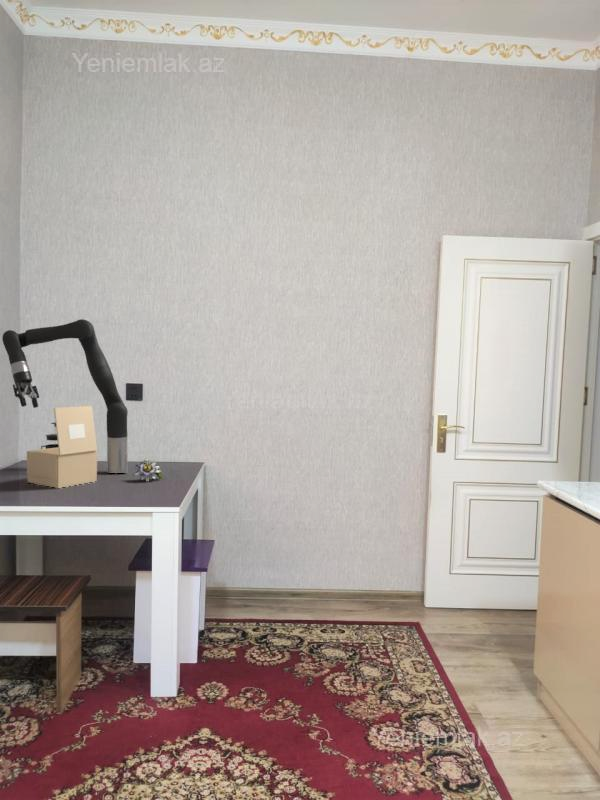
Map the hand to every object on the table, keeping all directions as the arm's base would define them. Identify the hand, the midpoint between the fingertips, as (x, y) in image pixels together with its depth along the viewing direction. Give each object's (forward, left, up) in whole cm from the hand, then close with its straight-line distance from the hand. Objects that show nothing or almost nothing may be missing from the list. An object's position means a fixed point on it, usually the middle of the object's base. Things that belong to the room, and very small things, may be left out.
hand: (30, 406), depth 293 cm
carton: (-16, +17, -32) cm, 39 cm away
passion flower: (-52, +16, -32) cm, 63 cm away
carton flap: (-22, +23, -8) cm, 32 cm away
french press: (-8, -20, -32) cm, 39 cm away
